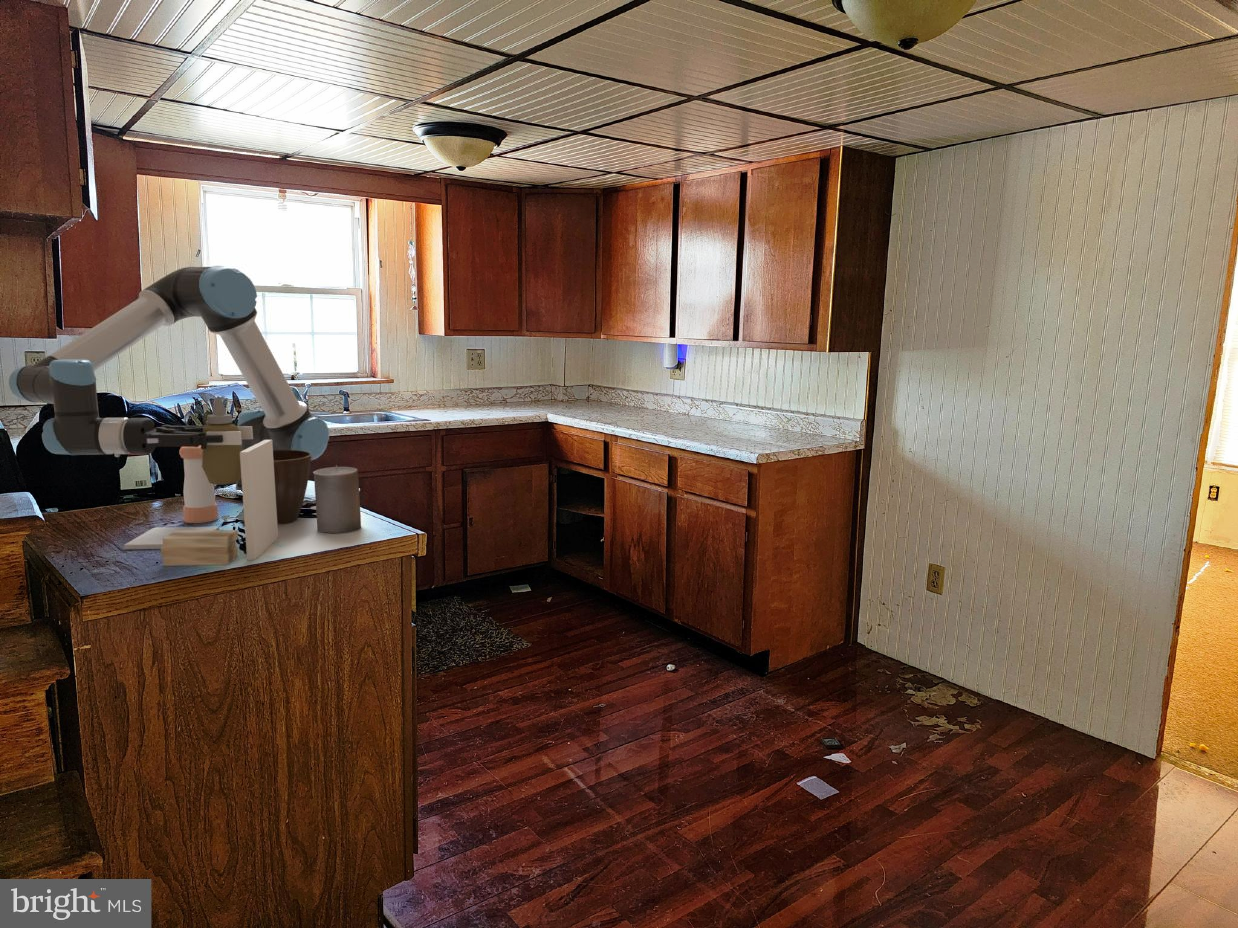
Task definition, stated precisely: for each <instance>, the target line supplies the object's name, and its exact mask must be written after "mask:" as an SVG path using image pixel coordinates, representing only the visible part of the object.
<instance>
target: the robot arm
mask: <svg viewBox="0 0 1238 928" xmlns="http://www.w3.org/2000/svg"><path fill="white" fill-rule="evenodd" d="M257 297H258V293H257V289H256V286H255V284H254V282H253V281H252V280H251V278H250V277H249V276H248V275H247V274H246V273H245V272H243V271H241V269H237V268H236V267H231V266H226V265H213V266H185V267H182V268H178V269H177V270H174V271H172V272H170V273H169V274H167V275H165V276H163V277H162V278H161V277H160V279H158V280H157V281H155V282H153V283H152V284H151V285H148V286H147V287H145V288H144V289H142V290H141V291H140V292H139V293H138V298H137V299H136V300H134V301H132V302H131V303H129V304H128V305H126V306H125V307H123V308H122V309H120V310H118V311H117V312H116V313H114V314H112V315H111V316H109V317H107V318H106V319H105V320H103V321H102V322H100V323H98V324H96V325H95V326H93V327H92V328H89V329H88V330H86V332H83V334H81V335H79V336H78V337H76V338H75V339H72V340H71V341H70V342H68V343H66V344H65V345H63V346H62V347H60V348H59V349H57V350H55V351H54V352H53V353H51V354H50V355H47V356H46V357H44V358H42V359H40V360H39V361H37V362H36V363H35V364H26V365H23V366H18V367H17V368H15V369H14V370H13V371H12V372H11V374H10V375H9V377H8V386H9V389H10V391H11V393H12V394H13V395H15V396H16V397H17V398H18V399H21V400H24V401H27V402H30V403H35V404H36V403H40V404H41V403H42V404H51V405H53V409H54V417H52V418H50V419H47V420H46V421H45V422H44V424H43V426H42V433H41V439H42V443H43V445H44V447H45V449H46V450H47V451H49V452H50V453H51V454H55V455H70V456H80V455H81V456H83V455H84V456H85V455H86V456H88V455H91V456H92V455H113V454H114V457H116V458H119V457H121V455H129V454H131V455H149V454H152V453H153V452H154V450H155V449H156V447H159V448H160V447H161V448H162V447H176V448H177V447H178V448H179V447H180V448H181V447H198V446H199V445H201V449H206V443H207V445H241V447H242V451H243V450H245V449H247V448H249V447H251V446H253V445H255V444H257V443H259V442H261V441H264V440H272V445H273V450H300V451H307V452H310V453H311V461H313V460H316V459H318V458H319V457H320V456H322V455H323V454H324V452H325V450H326V449H327V446H328V442H329V440H330V431H329V427H328V425H327V423H326V422H325V420H323V419H321V418H320V417H318V416H313V415H312V412H311V411H310V408H309V406H308V405H307V404H306V403H305V402H304V401H300V400H298V399H297V397H296V395H295V394H294V392H293V390H292V388H291V386H290V385H289V383H288V380H287V378H286V377H285V375H284V373H283V371H282V369H281V368H280V366H279V364H278V362H277V359H276V358H275V356H274V354H273V352H272V351H271V349H270V347H269V345H268V343H267V341H266V339H265V338H264V336H263V334H262V333H261V331H260V328H259V327H258V324H257V322H256V321H255V320H256V318H257V315H258V311H257V309H256V306H257V301H256V299H257ZM193 317H199V318H200V317H201V319H202V320H203V322H204V324H205V325H206V328H207V329H208V331H209V332H210V333H212V334H216V335H219V336H220V338H221V339H222V341H223V343H224V345H225V346H226V348H227V351H228V352H229V354H230V356H232V359H233V361H234V363H235V364H236V366H237V368H238V369H239V372H240V373H241V374H242V376H243V378H244V380H245V382H246V384H247V385H248V387H249V389H250V390H251V392H252V394H253V396H254V397H255V399H256V401H257V402H258V405H259V406H260V408H261V409H256V410H253V409H252V410H245V411H242V412H240V413H239V414H238V417H237V418H238V419H237V425H236V426H237V427H238V431H215V432H213V431H211V432H206V434H207V435H205V433H203V428H204V427H205V426H206V425H176V424H175V425H169V424H165V425H161V426H158V427H156V425H155V422H154V420H153V419H151V418H148V417H130V418H128V417H100V415H99V414H100V413H99V412H100V411H99V405H98V394H97V393H98V392H97V391H98V390H97V382H96V381H97V377H96V373H95V371H96V370H98V369H100V368H101V367H103V366H105V364H108V362H111V360H113V359H115V358H116V357H117V356H119V355H120V354H122V353H124V352H125V351H127V350H129V349H130V348H131V347H133V346H134V345H135V344H137V343H138V342H140V341H141V340H143V339H144V338H146V337H148V336H149V335H151V334H152V333H153V332H154V331H156V330H158V329H159V328H161V327H162V326H164V327H171V326H172V325H174V324H175V323H177V322H179V321H181V320H185V319H187V318H193ZM236 490H241V491H242V478H241V479H240V481H239V482H236V483H235V491H236Z"/></svg>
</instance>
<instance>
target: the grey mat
mask: <svg viewBox="0 0 1238 928" xmlns="http://www.w3.org/2000/svg"><path fill="white" fill-rule="evenodd" d="M176 530H221V529H220V526H177V527H175V526H174V527H173V526H172V527H170V526H169V527H168V526H166V527H165V526H163V527H162V526H161V527H159V526H158V527H153V528H151V529H148V530H147V531H145V532H144V533H142V534H141V535H139V536H137V537H134V539H132V540H130V541H128V542H126V543H125V544H124V550H161V548H162V547H163V540H162V538H164V537H166V536H168V535H169V534H171V533H173V532H174V531H176Z"/></svg>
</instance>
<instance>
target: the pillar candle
mask: <svg viewBox="0 0 1238 928" xmlns="http://www.w3.org/2000/svg"><path fill="white" fill-rule="evenodd" d="M358 471H359V470H358V469H357V468H356V467H353V466H352V467H350V466H338V465H337V464H336V465H335V466H332V467H325V468H324V467H323V468H319V469H316V470H314V471H313V472H312V474H313V478H314V481H313V483H314V493H315V495H314V497H315V499H314V500H315V512H316V524H317V531H318V532H319V533H329V534H344V533H345V534H346V533H351V532H353V531H357V530H358V529H359V528H361V527H362V519H361V518H362V515H361V502H360V501H361V500H360V485H359V484H360V483H359V472H358Z"/></svg>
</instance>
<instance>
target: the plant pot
mask: <svg viewBox="0 0 1238 928" xmlns="http://www.w3.org/2000/svg"><path fill="white" fill-rule="evenodd" d="M273 461H274V477H275V494H276V510H277V525H284V524H285V525H286V524H289V523H294V522H296V521H298V519H299V515H300V513H301V509H302V507H303V503H304V499H305V496H306V492H307V487H308V482H309V477H310V472H311V464H312V463H311V462H312V460H311V453H310V452H307V451H300V450H273Z"/></svg>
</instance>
